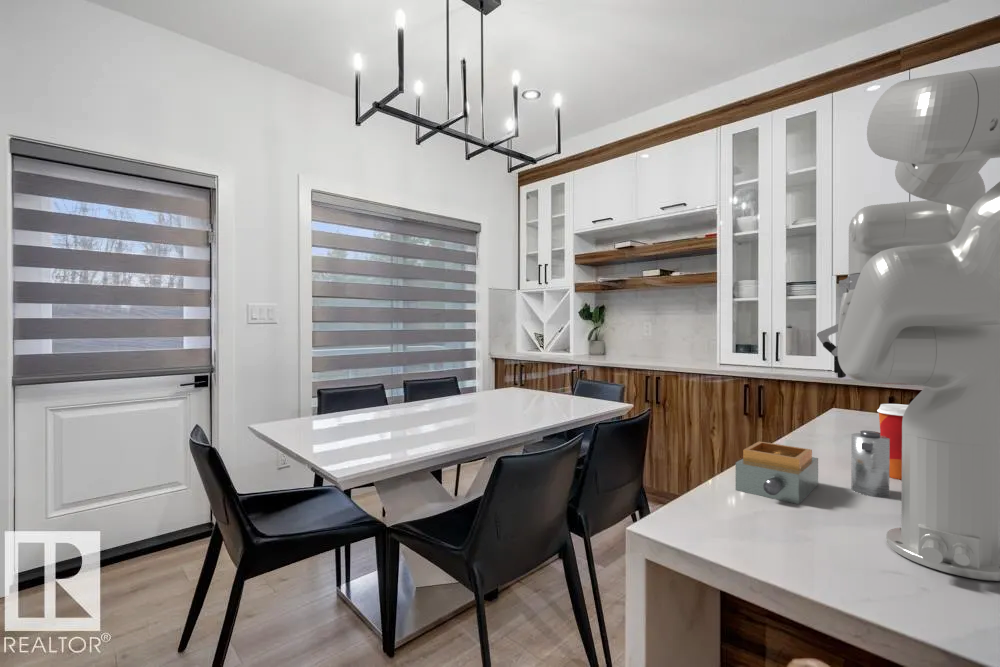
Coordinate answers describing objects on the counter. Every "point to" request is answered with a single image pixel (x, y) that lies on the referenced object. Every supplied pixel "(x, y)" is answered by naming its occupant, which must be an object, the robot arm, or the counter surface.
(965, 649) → the counter surface
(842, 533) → the counter surface
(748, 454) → the box
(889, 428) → the paper cup
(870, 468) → the spout can
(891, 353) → the robot arm
